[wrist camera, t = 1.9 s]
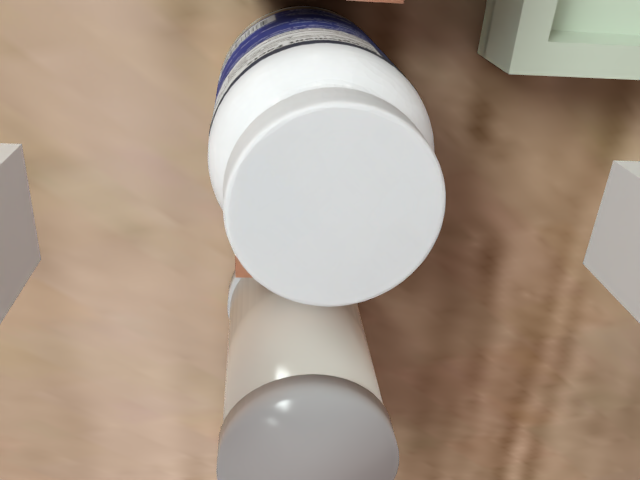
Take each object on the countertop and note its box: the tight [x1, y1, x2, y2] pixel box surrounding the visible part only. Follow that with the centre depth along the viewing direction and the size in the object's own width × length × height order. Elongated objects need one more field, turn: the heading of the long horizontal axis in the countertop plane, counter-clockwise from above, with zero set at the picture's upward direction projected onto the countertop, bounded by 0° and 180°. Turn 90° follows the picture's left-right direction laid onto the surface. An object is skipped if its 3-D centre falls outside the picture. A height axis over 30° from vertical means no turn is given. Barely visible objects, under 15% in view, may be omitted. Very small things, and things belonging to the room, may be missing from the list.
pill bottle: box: [208, 6, 446, 307], centre depth 17 cm, size 6×6×10 cm
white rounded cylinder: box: [217, 271, 399, 480], centre depth 21 cm, size 5×5×9 cm
